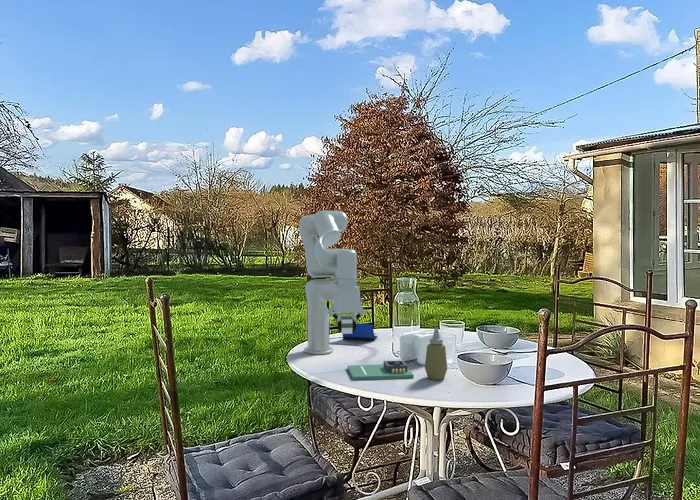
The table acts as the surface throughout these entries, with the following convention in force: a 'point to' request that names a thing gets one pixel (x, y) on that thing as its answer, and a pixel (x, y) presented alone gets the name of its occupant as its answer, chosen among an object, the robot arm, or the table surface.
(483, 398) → the table surface
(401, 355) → the cable organizer
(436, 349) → the squeeze bottle
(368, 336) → the laptop
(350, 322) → the plug
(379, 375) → the board
